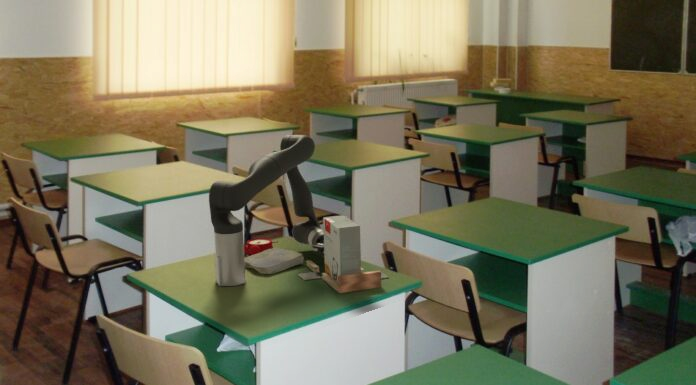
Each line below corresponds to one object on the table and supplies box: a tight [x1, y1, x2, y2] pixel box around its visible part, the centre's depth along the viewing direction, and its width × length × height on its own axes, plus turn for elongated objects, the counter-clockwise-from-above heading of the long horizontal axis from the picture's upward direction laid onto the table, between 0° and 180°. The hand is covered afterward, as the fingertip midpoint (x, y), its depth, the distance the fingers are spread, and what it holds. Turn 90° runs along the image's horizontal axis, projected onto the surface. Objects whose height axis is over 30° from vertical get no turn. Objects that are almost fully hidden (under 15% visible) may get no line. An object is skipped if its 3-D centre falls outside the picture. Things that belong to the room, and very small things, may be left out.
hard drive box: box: [322, 214, 362, 282], centre depth 265 cm, size 16×8×20 cm, turn 20°
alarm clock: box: [244, 237, 279, 256], centre depth 302 cm, size 10×6×15 cm
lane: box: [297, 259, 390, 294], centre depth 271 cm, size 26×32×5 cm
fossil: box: [244, 247, 305, 275], centre depth 287 cm, size 20×5×17 cm
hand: (339, 253), depth 273 cm, fingers closed
